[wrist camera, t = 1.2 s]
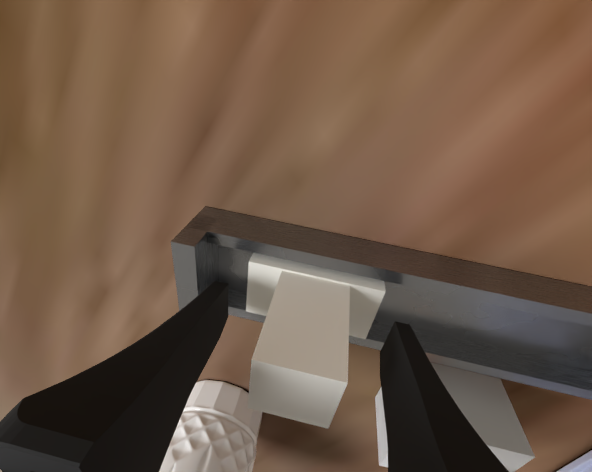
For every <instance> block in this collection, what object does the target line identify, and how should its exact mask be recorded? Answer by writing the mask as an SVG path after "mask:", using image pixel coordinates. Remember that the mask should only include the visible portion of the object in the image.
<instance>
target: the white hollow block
mask: <svg viewBox="0 0 592 472" xmlns="http://www.w3.org/2000/svg"><path fill="white" fill-rule="evenodd" d="M431 364H432V366H433V368H434V369H435V371H436V373H437V374H438V376H439V378H440V379H441V381H442V383H443V384H444V386H445V387H446V389H447V391H448V392H449V394H450V395H451V397H452V398H453V400H454V401H455V403H456V404H457V406H458V407H459V409H460V410H461V412H462V413H463V414H464V416H465V417H466V419H467V420H468V421H469V423H470V424H471V425H472V427H473V428H474V429H475V431H476V432H477V433H478V435H479V436H480V437H481V439H482V440H483V441H484V442H485V444H486V445H487V446H488V447H489V448H490V450H491V451H492V452H493V453H494V454H495V456H496V457H497V458H498V459H499V460H500V462H501V463H502V464H503V465H504V466H505V468H506V469H507V470H508V471H509V472H514V471H516V470H517V469H519V468H520V467H522V466H523V465H524V464H526V463H527V462H529V461H530V460H532V459H533V458H535V456H534V454H533V451H532V449H531V447H530V445H529V442H528V440H527V438H526V435H525V433H524V431H523V429H522V426H521V424H520V422H519V420H518V417H517V415H516V413H515V411H514V408H513V406H512V404H511V402H510V399H509V397H508V395H507V393H506V390H505V388H504V386H503V384H502V381H501V379H500V378H496V377H491V376H487V375H483V374H478V373H474V372H470V371H466V370H461V369H457V368H453V367H449V366H444V365H440V364H436V363H432V362H431ZM375 402H376V419H377V437H378V455H379V465H380V466H384V467H388V445H387V432H386V424H385V415H384V406H383V398H382V388H380V390H379V392H378V394H377V395H376V397H375Z"/></svg>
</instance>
